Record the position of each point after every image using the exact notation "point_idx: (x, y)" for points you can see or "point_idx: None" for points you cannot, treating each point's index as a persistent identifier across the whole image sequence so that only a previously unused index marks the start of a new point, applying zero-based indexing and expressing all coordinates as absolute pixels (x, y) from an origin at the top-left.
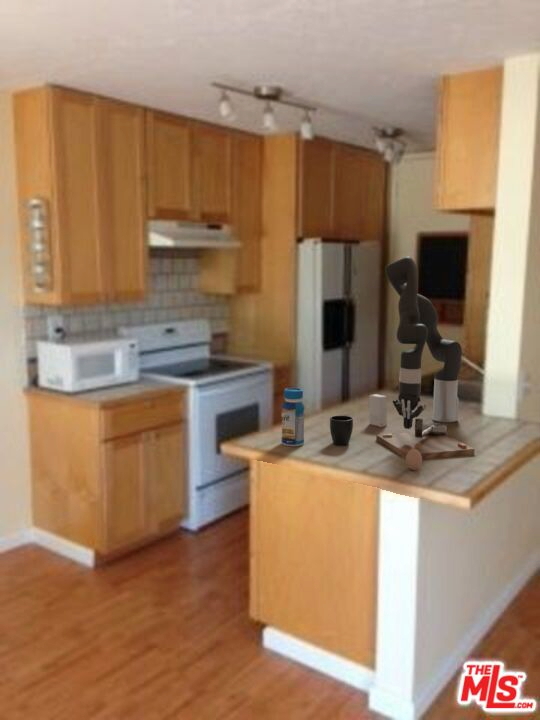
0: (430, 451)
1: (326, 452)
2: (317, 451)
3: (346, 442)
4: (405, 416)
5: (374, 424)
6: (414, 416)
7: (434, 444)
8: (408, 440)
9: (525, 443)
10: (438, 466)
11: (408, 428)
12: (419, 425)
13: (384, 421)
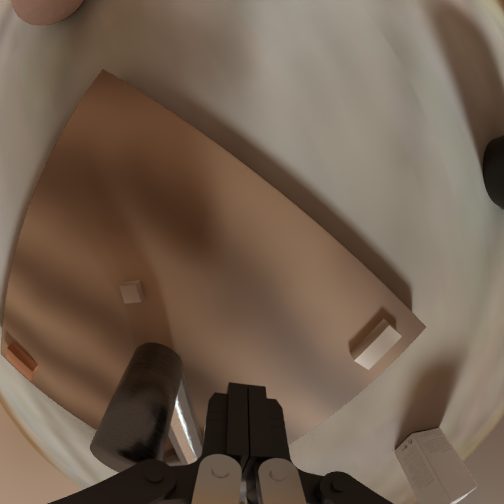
0: (41, 215)
1: (474, 35)
2: (492, 42)
3: (492, 152)
4: (263, 474)
5: (428, 432)
6: (126, 472)
7: (96, 348)
8: (240, 348)
9: (42, 451)
10: (7, 117)
11: (228, 389)
12: (112, 405)
13: (405, 455)
